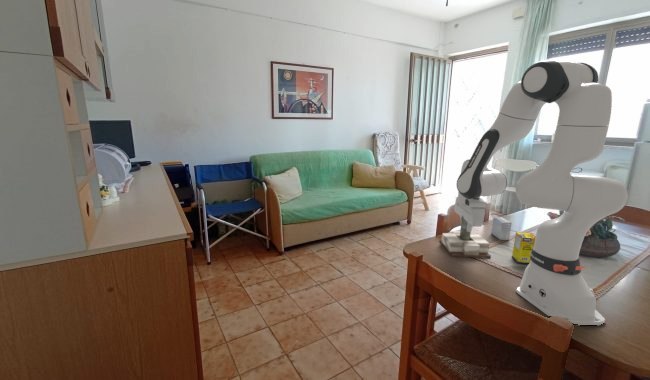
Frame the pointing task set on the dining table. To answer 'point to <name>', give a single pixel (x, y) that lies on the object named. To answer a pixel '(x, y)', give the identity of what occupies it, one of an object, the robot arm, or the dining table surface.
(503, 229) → the medicine box
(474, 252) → the holder board
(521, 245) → the supplement box
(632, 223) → the dining table surface
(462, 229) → the peg
